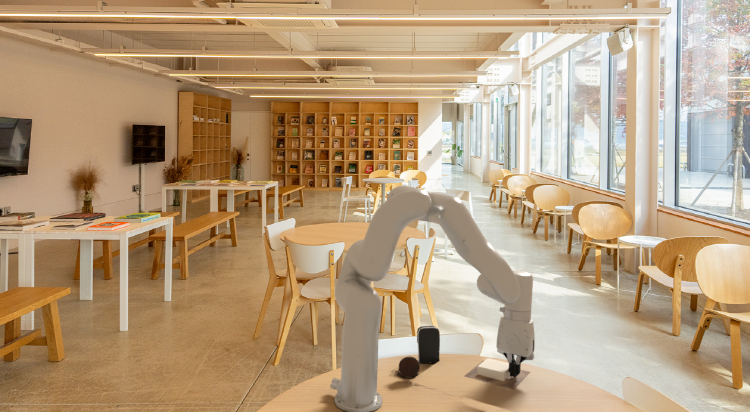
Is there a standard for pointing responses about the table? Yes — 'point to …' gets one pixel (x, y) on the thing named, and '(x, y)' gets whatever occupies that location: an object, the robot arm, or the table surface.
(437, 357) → the battery charger
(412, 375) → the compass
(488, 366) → the coaster
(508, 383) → the board
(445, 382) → the table surface
